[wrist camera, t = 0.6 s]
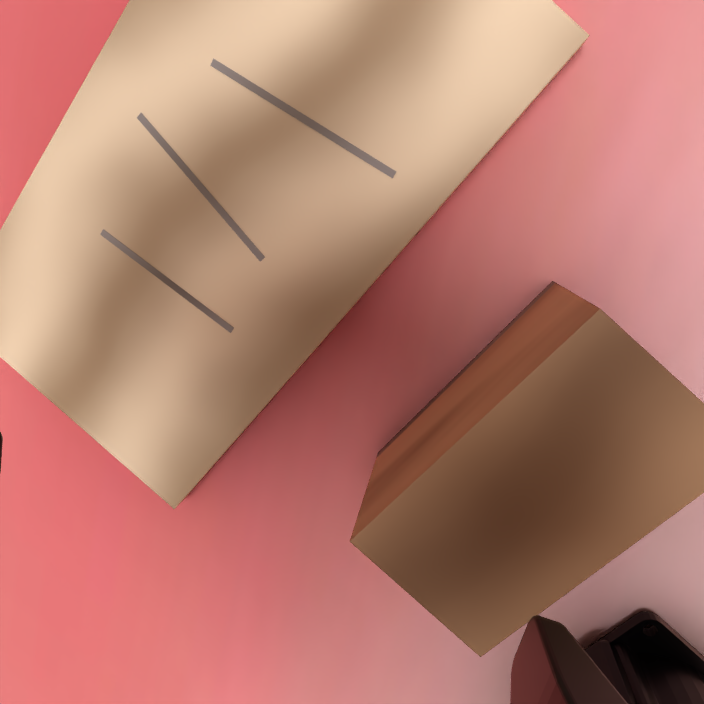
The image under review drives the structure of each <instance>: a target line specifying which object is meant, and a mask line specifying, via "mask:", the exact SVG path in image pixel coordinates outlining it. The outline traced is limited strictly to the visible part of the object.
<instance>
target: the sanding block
mask: <svg viewBox="0 0 704 704" xmlns="http://www.w3.org/2000/svg"><path fill="white" fill-rule="evenodd" d="M703 493H704V403H703V402H702V401H701V400H700V399H698V398H697V397H696V396H695V395H694V394H693V393H692V392H691V391H690V390H689V389H687V388H686V387H685V386H684V385H683V384H682V383H681V382H680V381H679V380H678V379H677V378H675V377H674V376H673V375H672V374H671V373H670V372H669V371H668V370H667V369H666V368H664V367H663V366H662V365H661V364H660V363H659V362H658V361H657V360H656V359H655V358H654V357H652V356H651V355H650V354H649V353H648V352H647V351H646V350H645V349H644V348H643V347H641V346H640V345H639V344H638V343H637V342H636V341H635V340H634V339H633V338H632V337H631V336H629V335H628V334H627V333H626V332H625V331H624V330H623V329H622V328H621V327H620V326H618V325H617V324H616V323H615V322H614V321H613V320H612V319H611V318H610V317H609V316H608V315H606V314H605V313H604V312H603V311H602V310H601V309H600V308H598V307H596V306H595V305H593V304H591V303H589V302H588V301H586V300H584V299H583V298H581V297H579V296H577V295H576V294H574V293H572V292H571V291H569V290H567V289H565V288H564V287H562V286H560V285H559V284H557V283H555V282H553V281H552V282H551V283H550V284H549V285H548V286H547V287H546V288H545V289H544V290H543V291H542V292H541V293H540V294H539V295H538V296H537V297H536V298H535V299H534V300H533V301H532V302H531V303H530V304H529V305H528V306H527V307H526V308H525V309H524V310H523V311H522V312H521V313H520V314H519V315H518V316H517V317H516V318H515V319H514V320H513V321H512V322H511V323H510V324H509V325H508V326H506V327H505V328H504V329H503V330H502V331H501V332H500V333H499V334H498V335H497V336H496V337H495V338H494V339H493V340H492V341H491V342H490V343H489V344H488V345H487V346H486V347H485V348H484V349H483V350H482V351H481V352H480V353H479V354H478V355H477V356H476V357H475V358H474V359H473V360H472V361H471V362H470V363H469V364H468V365H467V366H466V367H465V368H464V369H463V370H462V371H461V372H460V373H459V374H458V375H457V376H456V377H455V378H454V379H453V380H452V381H451V382H450V383H449V384H448V385H447V386H446V387H444V388H443V389H442V390H441V391H440V392H439V393H438V394H437V395H436V396H435V397H434V398H433V399H432V400H431V401H430V402H429V403H428V404H427V405H426V406H425V407H424V408H423V409H422V410H421V411H420V412H419V413H418V414H417V415H416V416H415V417H414V418H413V419H412V420H411V421H410V422H409V423H408V424H407V425H406V426H405V427H404V428H403V429H402V430H401V431H400V432H399V433H398V434H397V435H396V436H395V437H394V438H393V439H392V440H391V441H390V442H389V443H388V444H387V445H386V446H385V447H384V448H383V449H381V450H380V451H379V452H378V455H377V458H376V461H375V464H374V467H373V470H372V473H371V476H370V480H369V483H368V486H367V489H366V492H365V495H364V498H363V502H362V505H361V508H360V511H359V514H358V517H357V520H356V523H355V527H354V530H353V533H352V536H351V539H350V542H351V543H352V544H353V545H354V546H355V547H357V548H358V549H359V550H360V551H361V552H362V553H363V554H364V555H366V556H367V557H368V558H369V559H370V560H371V561H372V562H374V563H375V564H376V565H377V566H378V567H379V568H380V569H381V570H383V571H384V572H385V573H386V574H387V575H388V576H389V577H390V578H392V579H393V580H394V581H395V582H396V583H397V584H398V585H400V586H401V587H402V588H403V589H404V590H405V591H406V592H407V593H409V594H410V595H411V596H412V597H413V598H414V599H415V600H416V601H418V602H419V603H420V604H421V605H422V606H423V607H424V608H426V609H427V610H428V611H429V612H430V613H431V614H432V615H433V616H435V617H436V618H437V619H438V620H439V621H440V622H441V623H442V624H444V625H445V626H446V627H447V628H448V629H449V630H450V631H452V632H453V633H454V634H455V635H456V636H457V637H458V638H459V639H461V640H462V641H463V642H464V643H465V644H466V645H467V646H468V647H470V648H471V649H472V650H473V651H474V652H475V653H476V654H478V655H479V656H480V657H481V656H483V655H484V654H485V653H487V652H488V651H489V650H491V649H492V648H493V647H495V646H496V645H497V644H499V643H500V642H502V641H503V640H504V639H506V638H507V637H508V636H510V635H511V634H512V633H514V632H515V631H516V630H518V629H519V628H521V627H522V626H523V625H525V624H526V623H527V622H529V621H530V619H531V618H532V617H533V616H536V615H538V614H540V613H541V612H542V611H544V610H545V609H546V608H548V607H549V606H550V605H552V604H553V603H555V602H556V601H557V600H559V599H560V598H561V597H563V596H564V595H565V594H567V593H568V592H569V591H571V590H572V589H574V588H575V587H576V586H578V585H579V584H580V583H582V582H583V581H584V580H586V579H587V578H588V577H590V576H591V575H593V574H594V573H595V572H597V571H598V570H599V569H601V568H602V567H603V566H605V565H606V564H607V563H609V562H610V561H612V560H613V559H614V558H616V557H617V556H618V555H620V554H621V553H622V552H624V551H625V550H626V549H628V548H629V547H631V546H632V545H633V544H635V543H636V542H637V541H639V540H640V539H641V538H643V537H644V536H645V535H647V534H648V533H650V532H651V531H652V530H654V529H655V528H656V527H658V526H659V525H660V524H662V523H663V522H664V521H666V520H667V519H669V518H670V517H671V516H673V515H674V514H675V513H677V512H678V511H679V510H681V509H682V508H684V507H685V506H686V505H688V504H689V503H690V502H692V501H693V500H694V499H696V498H697V497H698V496H700V495H701V494H703Z"/></svg>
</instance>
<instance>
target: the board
mask: <svg viewBox="0 0 704 704" xmlns="http://www.w3.org/2000/svg"><path fill="white" fill-rule="evenodd" d="M588 37H589V34H587V33H586V32H585V31H584V30H583V29H582V28H581V27H580V26H579V25H578V24H577V23H576V22H575V21H573V20H572V19H571V18H570V17H569V16H568V15H567V14H566V13H565V12H564V11H563V10H562V9H561V8H559V7H558V6H557V5H556V4H555V3H554V2H553V1H552V0H130V1H129V2H128V4H127V6H126V8H125V9H124V11H123V13H122V15H121V16H120V18H119V20H118V22H117V24H116V25H115V27H114V29H113V31H112V32H111V34H110V36H109V38H108V40H107V41H106V43H105V45H104V47H103V48H102V50H101V52H100V54H99V56H98V57H97V59H96V61H95V63H94V64H93V66H92V68H91V70H90V72H89V73H88V75H87V77H86V79H85V80H84V82H83V84H82V86H81V88H80V89H79V91H78V93H77V95H76V96H75V98H74V100H73V102H72V104H71V105H70V107H69V109H68V111H67V112H66V114H65V116H64V118H63V120H62V121H61V123H60V125H59V127H58V128H57V130H56V132H55V134H54V136H53V137H52V139H51V141H50V143H49V144H48V146H47V148H46V150H45V152H44V153H43V155H42V157H41V159H40V160H39V162H38V164H37V166H36V168H35V169H34V171H33V173H32V175H31V176H30V178H29V180H28V182H27V183H26V185H25V187H24V189H23V191H22V192H21V194H20V196H19V198H18V199H17V201H16V203H15V205H14V207H13V208H12V210H11V212H10V214H9V215H8V217H7V219H6V221H5V223H4V224H3V226H2V228H1V230H0V357H1V358H2V359H3V360H4V361H6V362H7V363H8V364H9V365H10V366H11V367H12V368H14V369H15V370H16V371H17V372H18V373H19V374H20V375H22V376H23V377H24V378H25V379H26V380H27V381H28V382H30V383H31V384H32V385H33V386H34V387H35V388H36V389H38V390H39V391H40V392H41V393H42V394H43V395H44V396H46V397H47V398H48V399H49V400H50V401H51V402H52V403H54V404H55V405H56V406H57V407H58V408H59V409H60V410H62V411H63V412H64V413H65V414H66V415H67V416H68V417H70V418H71V419H72V420H73V421H74V422H75V423H76V424H78V425H79V426H80V427H81V428H82V429H83V430H84V431H86V432H87V433H88V434H89V435H90V436H91V437H92V438H94V439H95V440H96V441H97V442H98V443H99V444H100V445H102V446H103V447H104V448H105V449H106V450H107V451H108V452H110V453H111V454H112V455H113V456H114V457H115V458H116V459H118V460H119V461H120V462H121V463H122V464H123V465H124V466H126V467H127V468H128V469H129V470H130V471H131V472H132V473H134V474H135V475H136V476H137V477H138V478H139V479H140V480H142V481H143V482H144V483H145V484H146V485H147V486H148V487H150V488H151V489H152V490H153V491H154V492H155V493H156V494H158V495H159V496H160V497H161V498H162V499H163V500H164V501H166V502H167V503H168V504H169V505H170V506H171V507H172V508H174V509H175V508H176V507H177V506H178V505H179V504H180V503H181V502H182V501H183V500H184V499H185V498H186V497H187V495H188V494H189V493H190V492H191V491H192V490H193V489H194V487H195V486H196V485H197V484H198V483H199V482H200V481H201V479H202V478H203V477H204V476H205V475H206V474H207V473H208V471H209V470H210V469H211V468H212V467H213V466H214V465H215V463H216V462H217V461H218V460H219V459H220V458H221V457H222V456H223V454H224V453H225V452H226V451H227V450H228V449H229V448H230V446H231V445H232V444H233V443H234V442H235V441H236V440H237V438H238V437H239V436H240V435H241V434H242V433H243V432H244V430H245V429H246V428H247V427H248V426H249V425H250V424H251V422H252V421H253V420H254V419H255V418H256V417H257V416H258V414H259V413H260V412H261V411H262V410H263V409H264V408H265V406H266V405H267V404H268V403H269V402H270V401H271V400H272V399H273V397H274V396H275V395H276V394H277V393H278V392H279V391H280V389H281V388H282V387H283V386H284V385H285V384H286V383H287V381H288V380H289V379H290V378H291V377H292V376H293V375H294V373H295V372H296V371H297V370H298V369H299V368H300V367H301V365H302V364H303V363H304V362H305V361H306V360H307V359H308V357H309V356H310V355H311V354H312V353H313V352H314V351H315V350H316V348H317V347H318V346H319V345H320V344H321V343H322V342H323V340H324V339H325V338H326V337H327V336H328V335H329V334H330V332H331V331H332V330H333V329H334V328H335V327H336V326H337V324H338V323H339V322H340V321H341V320H342V319H343V318H344V316H345V315H346V314H347V313H348V312H349V311H350V310H351V308H352V307H353V306H354V305H355V304H356V303H357V302H358V300H359V299H360V298H361V297H362V296H363V295H364V294H365V293H366V291H367V290H368V289H369V288H370V287H371V286H372V285H373V283H374V282H375V281H376V280H377V279H378V278H379V277H380V275H381V274H382V273H383V272H384V271H385V270H386V269H387V267H388V266H389V265H390V264H391V263H392V262H393V261H394V259H395V258H396V257H397V256H398V255H399V254H400V253H401V251H402V250H403V249H404V248H405V247H406V246H407V245H408V244H409V242H410V241H411V240H412V239H413V238H414V237H415V236H416V234H417V233H418V232H419V231H420V230H421V229H422V228H423V226H424V225H425V224H426V223H427V222H428V221H429V220H430V218H431V217H432V216H433V215H434V214H435V213H436V212H437V210H438V209H439V208H440V207H441V206H442V205H443V204H444V202H445V201H446V200H447V199H448V198H449V197H450V196H451V194H452V193H453V192H454V191H455V190H456V189H457V188H458V187H459V185H460V184H461V183H462V182H463V181H464V180H465V179H466V177H467V176H468V175H469V174H470V173H471V172H472V171H473V169H474V168H475V167H476V166H477V165H478V164H479V163H480V161H481V160H482V159H483V158H484V157H485V156H486V155H487V153H488V152H489V151H490V150H491V149H492V148H493V147H494V145H495V144H496V143H497V142H498V141H499V140H500V139H501V138H502V136H503V135H504V134H505V133H506V132H507V131H508V130H509V128H510V127H511V126H512V125H513V124H514V123H515V122H516V120H517V119H518V118H519V117H520V116H521V115H522V114H523V112H524V111H525V110H526V109H527V108H528V107H529V106H530V104H531V103H532V102H533V101H534V100H535V99H536V98H537V96H538V95H539V94H540V93H541V92H542V91H543V90H544V88H545V87H546V86H547V85H548V84H549V83H550V82H551V81H552V79H553V78H554V77H555V76H556V75H557V74H558V73H559V71H560V70H561V69H562V68H563V67H564V66H565V65H566V63H567V62H568V61H569V60H570V59H571V58H572V57H573V55H574V54H575V53H576V52H577V51H578V50H579V49H580V47H581V46H582V45H583V44H584V42H585V41H586V39H587V38H588Z"/></svg>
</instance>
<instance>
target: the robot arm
mask: <svg viewBox="0 0 704 704" xmlns="http://www.w3.org/2000/svg"><path fill="white" fill-rule="evenodd" d="M2 441H3V438H2V434H1V432H0V472H1V457H2ZM647 625H653V626H652V627H651V628H644V627H645V626H647ZM511 704H704V657H703V656H702V655H701V654H700V653H699V652H698V651H697V650H696V649H694V648H693V647H692V646H691V645H690V644H689V643H688V642H687V641H685V640H684V639H683V638H682V637H681V636H680V635H679V634H678V633H677V632H675V631H674V630H673V629H672V628H671V627H670V626H669V625H668V624H667V623H665V622H664V621H663V620H662V619H661V618H660V617H659V616H658V615H656V614H654V613H652V612H648V611H646V612H640V613H638V614H636V615H635V616H633V617H632V618H630V619H629V620H628V621H626V622H625V623H623V624H622V625H620V626H619V627H617V628H616V629H614V630H613V631H612V632H610V633H609V634H607V635H606V636H604V637H603V638H601V639H600V640H598V641H597V642H595V643H594V644H593V645H591V646H590V647H588V648H587V649H585V650H584V649H583V648H582V647H581V646H580V645H579V643H578V642H577V641H576V640H575V638H574V637H573V636H572V635H571V634H570V632H569V631H568V630H567V629H566V628H565V626H564V625H562V624H561V623H559V622H556V621H553V620H550V619H547V618H544V617H541V616H538V615H536V616H533V617H532V618H531V619H530V621H529V623H528V625H527V627H526V630H525V632H524V635H523V637H522V640H521V642H520V645H519V647H518V650H517V652H516V655H515V658H514V661H513V665H512V671H511Z"/></svg>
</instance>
